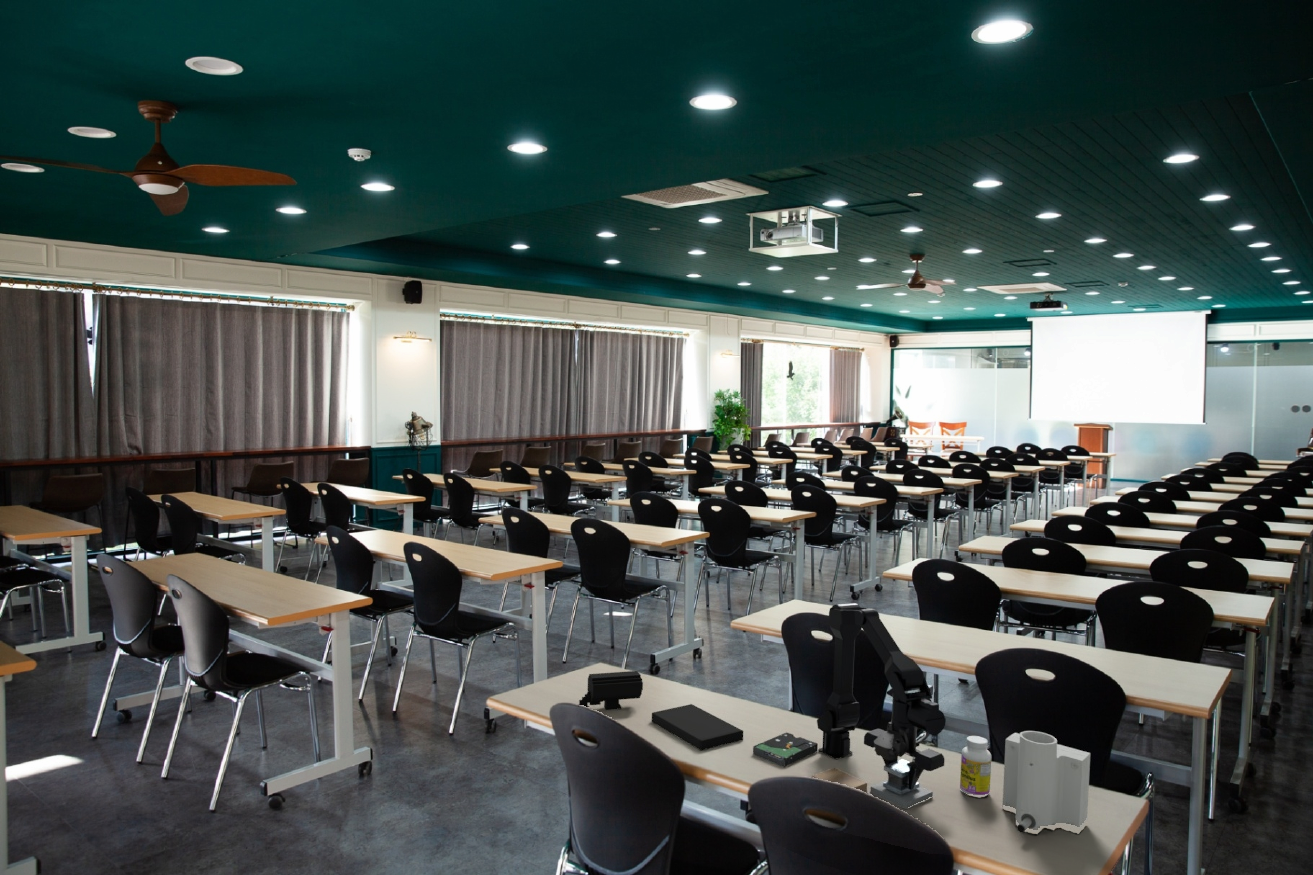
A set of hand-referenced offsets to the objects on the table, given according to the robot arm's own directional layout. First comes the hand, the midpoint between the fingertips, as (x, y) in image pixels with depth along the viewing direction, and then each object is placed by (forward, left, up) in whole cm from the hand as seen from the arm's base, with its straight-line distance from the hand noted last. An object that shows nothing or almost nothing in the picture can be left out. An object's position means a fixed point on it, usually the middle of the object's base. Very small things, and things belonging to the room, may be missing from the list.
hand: (901, 785), depth 199 cm
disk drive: (-32, -5, -3) cm, 33 cm away
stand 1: (-11, -9, -2) cm, 14 cm away
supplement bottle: (+9, +16, -3) cm, 19 cm away
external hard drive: (-57, -15, -3) cm, 59 cm away
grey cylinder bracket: (+26, +12, -3) cm, 29 cm away
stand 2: (0, 0, -2) cm, 2 cm away
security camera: (-84, -25, -3) cm, 87 cm away
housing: (0, 0, -1) cm, 1 cm away
